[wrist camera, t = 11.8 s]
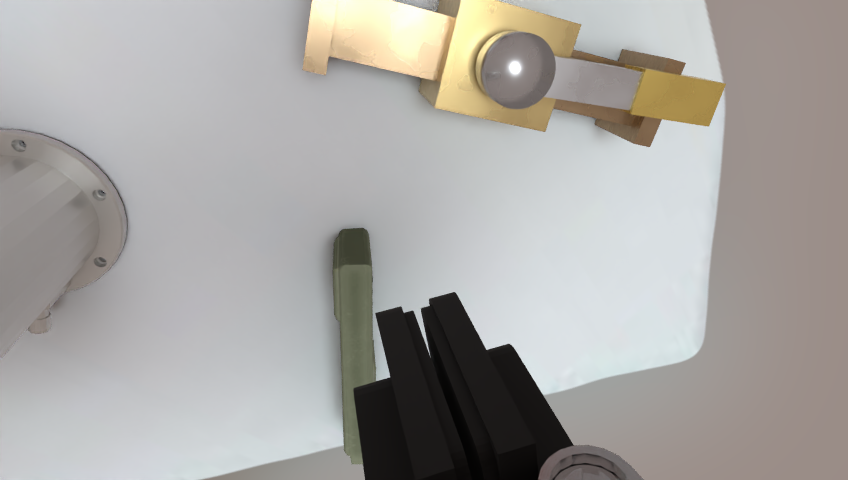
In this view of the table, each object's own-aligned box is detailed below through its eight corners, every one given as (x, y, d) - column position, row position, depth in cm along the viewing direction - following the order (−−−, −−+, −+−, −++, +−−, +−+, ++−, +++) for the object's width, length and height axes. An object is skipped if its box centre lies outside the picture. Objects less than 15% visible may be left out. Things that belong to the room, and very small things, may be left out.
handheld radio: (373, 226, 43) (372, 442, 54) (333, 227, 42) (341, 444, 53) (377, 264, 37) (376, 498, 48) (331, 265, 36) (340, 501, 47)
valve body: (606, 133, 43) (648, 154, 37) (304, 65, 36) (301, 78, 31) (640, 46, 40) (690, 55, 34) (319, -44, 33) (319, -51, 28)
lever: (468, 97, 33) (478, 104, 31) (483, 24, 31) (495, 26, 29) (681, 129, 37) (703, 138, 34) (706, 66, 35) (731, 71, 33)
